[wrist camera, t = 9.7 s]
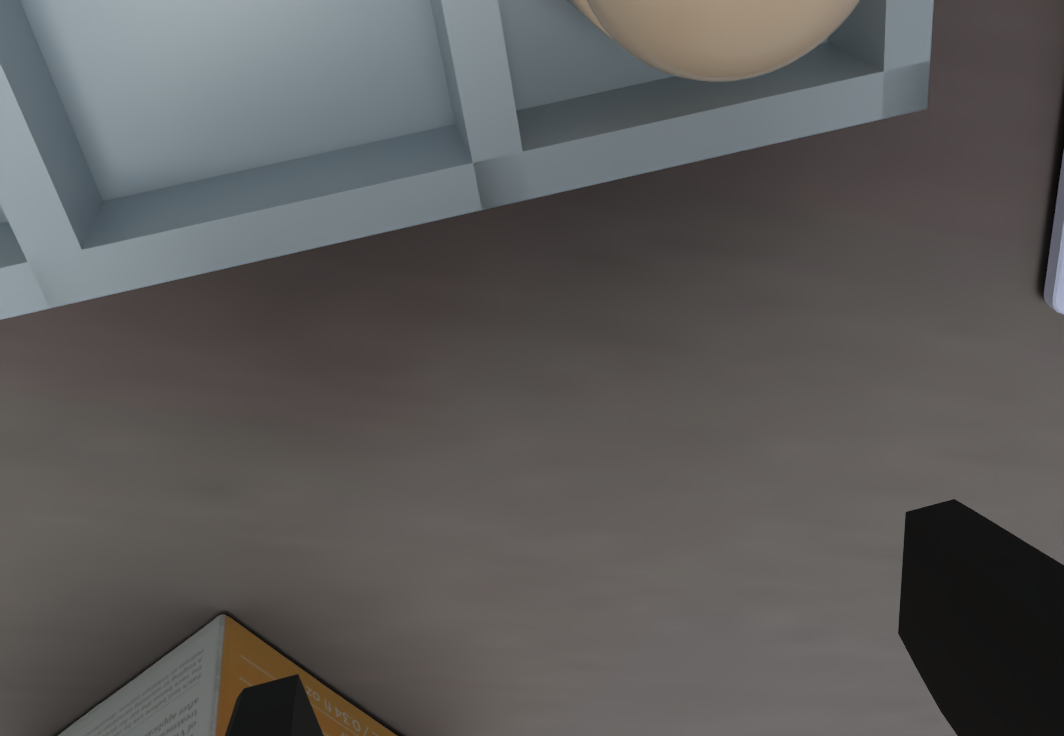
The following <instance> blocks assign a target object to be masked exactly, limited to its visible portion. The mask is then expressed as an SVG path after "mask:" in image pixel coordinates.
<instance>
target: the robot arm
mask: <svg viewBox="0 0 1064 736" xmlns="http://www.w3.org/2000/svg"><path fill="white" fill-rule="evenodd" d="M1044 300H1045V302H1046V303H1047V305H1048V306H1050V307H1051V308H1052V309H1054V310H1055V311H1057V312H1059V313H1061V314H1064V151H1063V158H1062V165H1061V172H1060V180H1059V187H1058V194H1057V201H1056V209H1055V216H1054V223H1053V230H1052V237H1051V245H1050V252H1049V259H1048V266H1047V274H1046V281H1045V288H1044ZM898 634H899V636H900V637H901V639H902V641H903V643H904V645H905V647H906V649H907V651H908V653H909V655H910V656H911V658H912V660H913V662H914V664H915V666H916V668H917V670H918V672H919V673H920V675H921V677H922V679H923V681H924V682H925V684H926V686H927V688H928V690H929V691H930V693H931V695H932V697H933V698H934V700H935V702H936V704H937V706H938V707H939V709H940V711H941V712H942V714H943V715H944V717H945V718H946V720H947V721H948V722H949V724H950V725H951V727H952V728H953V730H954V731H955V733H956V734H957V735H958V736H1064V565H1062V564H1061V563H1059V562H1057V561H1056V560H1054V559H1052V558H1051V557H1049V556H1047V555H1046V554H1044V553H1042V552H1041V551H1039V550H1038V549H1036V548H1034V547H1033V546H1031V545H1029V544H1028V543H1026V542H1024V541H1023V540H1021V539H1019V538H1018V537H1016V536H1015V535H1013V534H1011V533H1010V532H1008V531H1006V530H1005V529H1003V528H1002V527H1000V526H998V525H997V524H995V523H993V522H992V521H990V520H988V519H987V518H985V517H983V516H982V515H980V514H979V513H977V512H975V511H974V510H972V509H970V508H968V507H967V506H965V505H963V504H962V503H960V502H958V501H957V500H955V499H953V500H950V501H946V502H942V503H938V504H935V505H931V506H927V507H923V508H919V509H916V510H912V511H908V512H906V518H905V534H904V550H903V566H902V582H901V598H900V614H899V630H898ZM225 736H324V735H323V732H322V730H321V728H320V725H319V723H318V720H317V718H316V716H315V713H314V711H313V708H312V706H311V703H310V701H309V699H308V696H307V694H306V691H305V689H304V686H303V684H302V682H301V679H300V677H299V674H296V675H292V676H288V677H285V678H281V679H277V680H273V681H270V682H266V683H262V684H258V685H255V686H251V687H247V688H244V689H243V690H242V692H241V693H240V694H239V696H238V697H237V699H236V702H235V705H234V709H233V712H232V715H231V718H230V721H229V724H228V727H227V730H226V733H225Z"/></svg>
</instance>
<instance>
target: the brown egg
mask: <svg viewBox="0 0 1064 736" xmlns="http://www.w3.org/2000/svg"><path fill="white" fill-rule="evenodd" d="M567 1H568V2H569V3H570V4H572V5H573V6H574V7H575V8H576V9H577V10H579V11H580V12H581V13H582V14H583V15H584V16H586V17H587V18H588V19H589V20H590V21H592V22H593V23H594V24H595V25H596V26H597V27H599V28H600V29H601V30H602V31H603V32H605V33H606V34H607V35H608V36H609V37H610V38H612V39H613V40H614V41H615V42H616V43H618V44H619V45H620V46H621V47H622V48H624V49H625V50H626V51H627V52H628V53H630V54H631V55H633V56H635V57H636V58H638V59H639V60H641V61H642V62H644V63H646V64H647V65H649V66H651V67H653V68H656V69H658V70H660V71H662V72H665V73H667V74H670V75H674V76H678V77H681V78H685V79H691V80H699V81H707V82H729V81H735V80H742V79H748V78H753V77H756V76H760V75H763V74H767V73H770V72H773V71H775V70H777V69H780V68H782V67H784V66H787V65H789V64H790V63H792V62H794V61H796V60H797V59H799V58H801V57H802V56H804V55H806V54H807V53H808V52H810V51H811V50H813V49H814V48H815V47H817V46H818V45H819V44H821V43H822V42H823V41H825V40H826V39H827V38H828V37H829V36H830V35H831V34H832V33H833V32H834V31H835V30H836V29H837V28H838V27H839V26H840V25H841V24H842V23H843V22H844V21H845V19H846V18H847V17H848V16H849V15H850V14H851V12H852V11H853V10H854V8H855V7H856V5H857V4H858V2H859V1H860V0H567Z"/></svg>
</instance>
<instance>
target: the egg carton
mask: <svg viewBox="0 0 1064 736" xmlns="http://www.w3.org/2000/svg"><path fill="white" fill-rule="evenodd" d="M933 4H934V0H860V1H859V2H858V4H857V5H856V7H855V8H854V10H853V11H852V12H851V14H850V15H849V16H848V17H847V18H846V19H845V21H844V22H843V23H842V24H841V25H840V26H839V27H838V28H837V29H836V30H835V31H834V32H833V33H832V34H831V35H830V36H829V37H828V38H827V39H826V40H825V41H823V42H822V43H821V44H819V45H818V46H817V47H815V48H814V49H813V50H811V51H810V52H808V53H807V54H806V55H804V56H802V57H801V58H799V59H797V60H796V61H794V62H792V63H790V64H789V65H787V66H784V67H782V68H780V69H777V70H775V71H773V72H770V73H767V74H763V75H760V76H756V77H753V78H748V79H742V80H735V81H729V82H707V81H699V80H691V79H685V78H681V77H678V76H674V75H670V74H667V73H665V72H662V71H660V70H658V69H656V68H653V67H651V66H649V65H647V64H646V63H644V62H642V61H641V60H639V59H638V58H636V57H635V56H633V55H631V54H630V53H628V52H627V51H626V50H625V49H624V48H622V47H621V46H620V45H619V44H618V43H616V42H615V41H614V40H613V39H612V38H610V37H609V36H608V35H607V34H606V33H605V32H603V31H602V30H601V29H600V28H599V27H597V26H596V25H595V24H594V23H593V22H592V21H590V20H589V19H588V18H587V17H586V16H584V15H583V14H582V13H581V12H580V11H579V10H577V9H576V8H575V7H574V6H573V5H572V4H570V3H569V2H568V1H567V0H0V320H1V319H6V318H10V317H14V316H19V315H23V314H28V313H32V312H36V311H41V310H45V309H50V308H54V307H58V306H63V305H67V304H71V303H76V302H80V301H85V300H89V299H93V298H98V297H102V296H107V295H111V294H115V293H120V292H124V291H129V290H133V289H137V288H142V287H146V286H151V285H155V284H159V283H164V282H168V281H173V280H177V279H181V278H186V277H190V276H195V275H199V274H203V273H208V272H212V271H217V270H221V269H225V268H230V267H234V266H239V265H243V264H247V263H252V262H256V261H261V260H265V259H269V258H274V257H278V256H283V255H287V254H291V253H296V252H300V251H305V250H309V249H313V248H318V247H322V246H327V245H331V244H335V243H340V242H344V241H349V240H353V239H357V238H362V237H366V236H371V235H375V234H379V233H384V232H388V231H392V230H397V229H401V228H406V227H410V226H414V225H419V224H423V223H428V222H432V221H436V220H441V219H445V218H450V217H454V216H458V215H463V214H467V213H472V212H476V211H480V210H485V209H489V208H494V207H498V206H502V205H507V204H511V203H516V202H520V201H524V200H529V199H533V198H538V197H542V196H546V195H551V194H555V193H560V192H564V191H568V190H573V189H577V188H582V187H586V186H590V185H595V184H599V183H604V182H608V181H612V180H617V179H621V178H626V177H630V176H634V175H639V174H643V173H648V172H652V171H656V170H661V169H665V168H670V167H674V166H678V165H683V164H687V163H691V162H696V161H700V160H705V159H709V158H713V157H718V156H722V155H727V154H731V153H735V152H740V151H744V150H749V149H753V148H757V147H762V146H766V145H771V144H775V143H779V142H784V141H788V140H793V139H797V138H801V137H806V136H810V135H815V134H819V133H823V132H828V131H832V130H837V129H841V128H845V127H850V126H854V125H859V124H863V123H867V122H872V121H876V120H881V119H885V118H889V117H894V116H898V115H903V114H907V113H911V112H916V111H920V110H925V109H927V103H928V87H929V70H930V54H931V37H932V20H933Z"/></svg>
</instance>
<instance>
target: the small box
mask: <svg viewBox="0 0 1064 736" xmlns="http://www.w3.org/2000/svg"><path fill="white" fill-rule="evenodd" d="M296 674H299V677H300V679H301V682H302V684H303V686H304V689H305V691H306V694H307V696H308V699H309V701H310V703H311V706H312V708H313V711H314V713H315V716H316V718H317V720H318V723H319V725H320V728H321V730H322V732H323V735H324V736H397V735H396V734H394V733H393V732H391V731H390V730H388V729H387V728H385V727H384V726H382V725H381V724H380V723H378V722H377V721H375V720H374V719H372V718H371V717H370V716H368V715H367V714H365V713H364V712H362V711H361V710H359V709H358V708H356V707H355V706H354V705H352V704H351V703H349V702H348V701H346V700H345V699H343V698H342V697H340V696H339V695H338V694H336V693H335V692H333V691H332V690H330V689H329V688H327V687H326V686H325V685H323V684H322V683H320V682H319V681H318V680H316V679H315V678H314V677H312V676H311V675H310V674H308V673H307V672H305V671H304V670H302V669H301V668H300V667H298V666H297V665H295V664H294V663H293V662H291V661H290V660H288V659H287V658H286V657H284V656H283V655H281V654H280V653H279V652H277V651H276V650H274V649H273V648H272V647H270V646H269V645H267V644H266V643H265V642H263V641H262V640H260V639H259V638H258V637H256V636H255V635H254V634H252V633H251V632H249V631H248V630H247V629H245V628H244V627H243V626H241V625H240V624H239V623H237V622H236V621H235V620H233V619H232V618H230V617H229V616H227V615H224V614H222V615H219V616H217V617H216V618H215V619H214V620H212V621H211V622H210V623H209V624H207V625H206V626H205V627H203V628H202V629H201V630H199V631H198V632H196V633H195V634H194V635H192V636H191V637H190V638H189V639H187V640H186V641H185V642H183V643H182V644H181V645H179V646H178V647H177V648H175V649H174V650H172V651H171V652H170V653H168V654H167V655H165V656H164V657H163V658H161V659H160V660H159V661H157V662H156V663H155V664H154V665H152V666H151V667H150V668H148V669H147V670H146V671H144V672H143V673H142V674H140V675H139V676H137V677H136V678H135V679H133V680H132V681H131V682H129V683H128V684H127V685H125V686H124V687H122V688H121V689H120V690H118V691H117V692H116V693H114V694H113V695H111V696H110V697H109V698H107V699H106V700H104V701H103V702H102V703H100V704H99V705H97V706H96V707H95V708H93V709H92V710H91V711H89V712H88V713H87V714H85V715H84V716H83V717H81V718H80V719H79V720H77V721H76V722H75V723H73V724H72V725H71V726H69V727H68V728H67V729H65V730H64V731H63V732H62V733H60V734H59V735H58V736H225V733H226V730H227V727H228V724H229V721H230V718H231V715H232V712H233V709H234V705H235V702H236V699H237V697H238V696H239V694H240V693H241V692H242V690H243V689H244V688H247V687H251V686H255V685H258V684H262V683H266V682H270V681H273V680H277V679H281V678H285V677H288V676H292V675H296Z"/></svg>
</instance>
